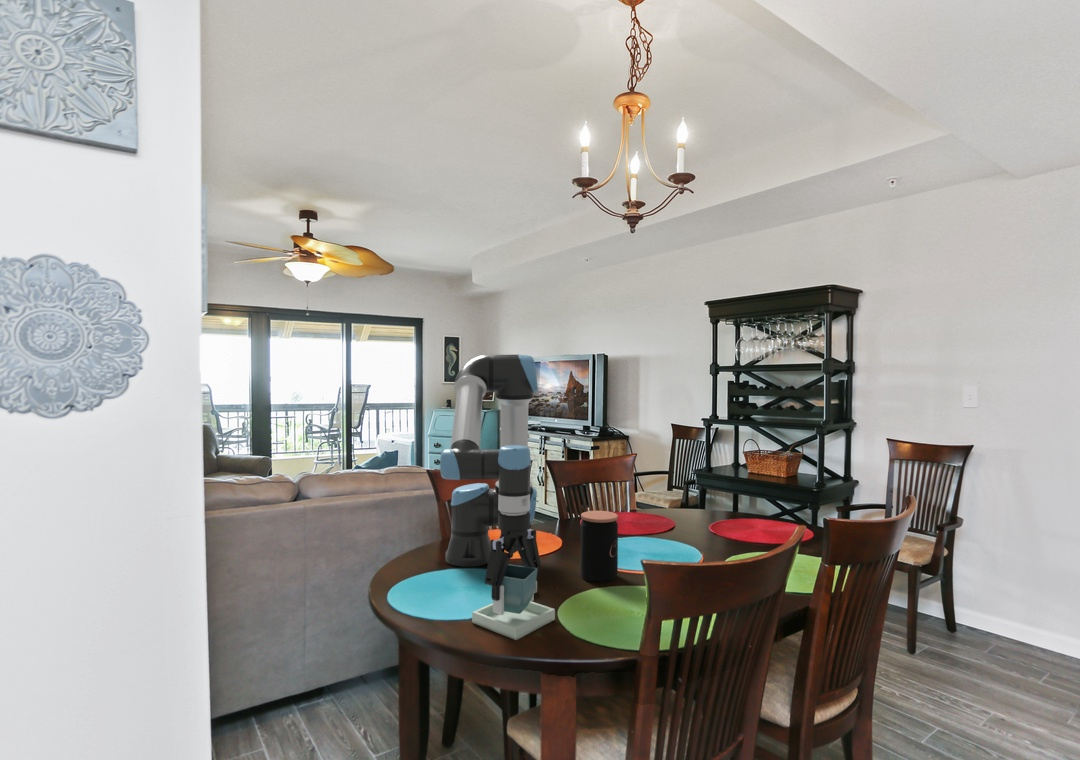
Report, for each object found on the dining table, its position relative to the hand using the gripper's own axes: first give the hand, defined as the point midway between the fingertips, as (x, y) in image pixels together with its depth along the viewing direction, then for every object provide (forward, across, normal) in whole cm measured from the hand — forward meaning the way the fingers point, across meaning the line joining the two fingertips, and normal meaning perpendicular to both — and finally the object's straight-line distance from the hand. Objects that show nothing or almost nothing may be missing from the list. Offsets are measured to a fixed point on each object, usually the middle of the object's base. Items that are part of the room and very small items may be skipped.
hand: (513, 606), depth 134 cm
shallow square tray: (+4, 0, 0) cm, 4 cm away
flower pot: (+1, 0, 0) cm, 1 cm away
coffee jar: (+4, +38, +1) cm, 38 cm away
